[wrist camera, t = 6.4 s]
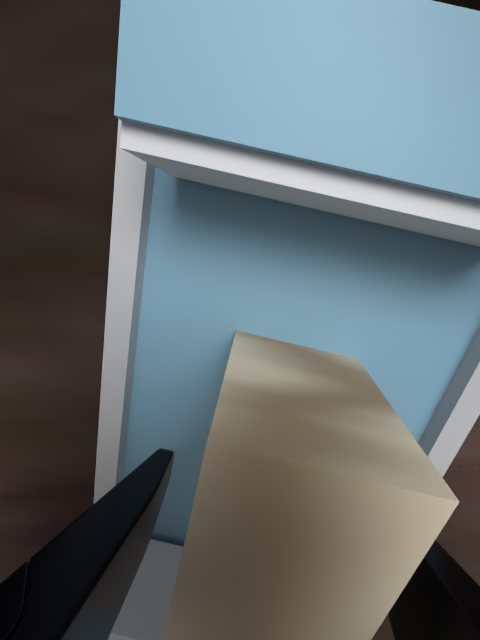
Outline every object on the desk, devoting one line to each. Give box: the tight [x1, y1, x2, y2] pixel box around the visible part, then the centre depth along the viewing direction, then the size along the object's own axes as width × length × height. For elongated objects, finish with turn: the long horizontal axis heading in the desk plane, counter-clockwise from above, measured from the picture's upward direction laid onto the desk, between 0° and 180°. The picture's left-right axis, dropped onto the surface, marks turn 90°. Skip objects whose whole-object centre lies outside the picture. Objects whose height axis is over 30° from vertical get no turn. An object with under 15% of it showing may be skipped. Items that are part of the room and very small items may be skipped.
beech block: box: [163, 330, 459, 640], centre depth 8 cm, size 4×6×5 cm, turn 168°
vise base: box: [93, 0, 480, 546], centre depth 9 cm, size 12×21×4 cm, turn 168°
